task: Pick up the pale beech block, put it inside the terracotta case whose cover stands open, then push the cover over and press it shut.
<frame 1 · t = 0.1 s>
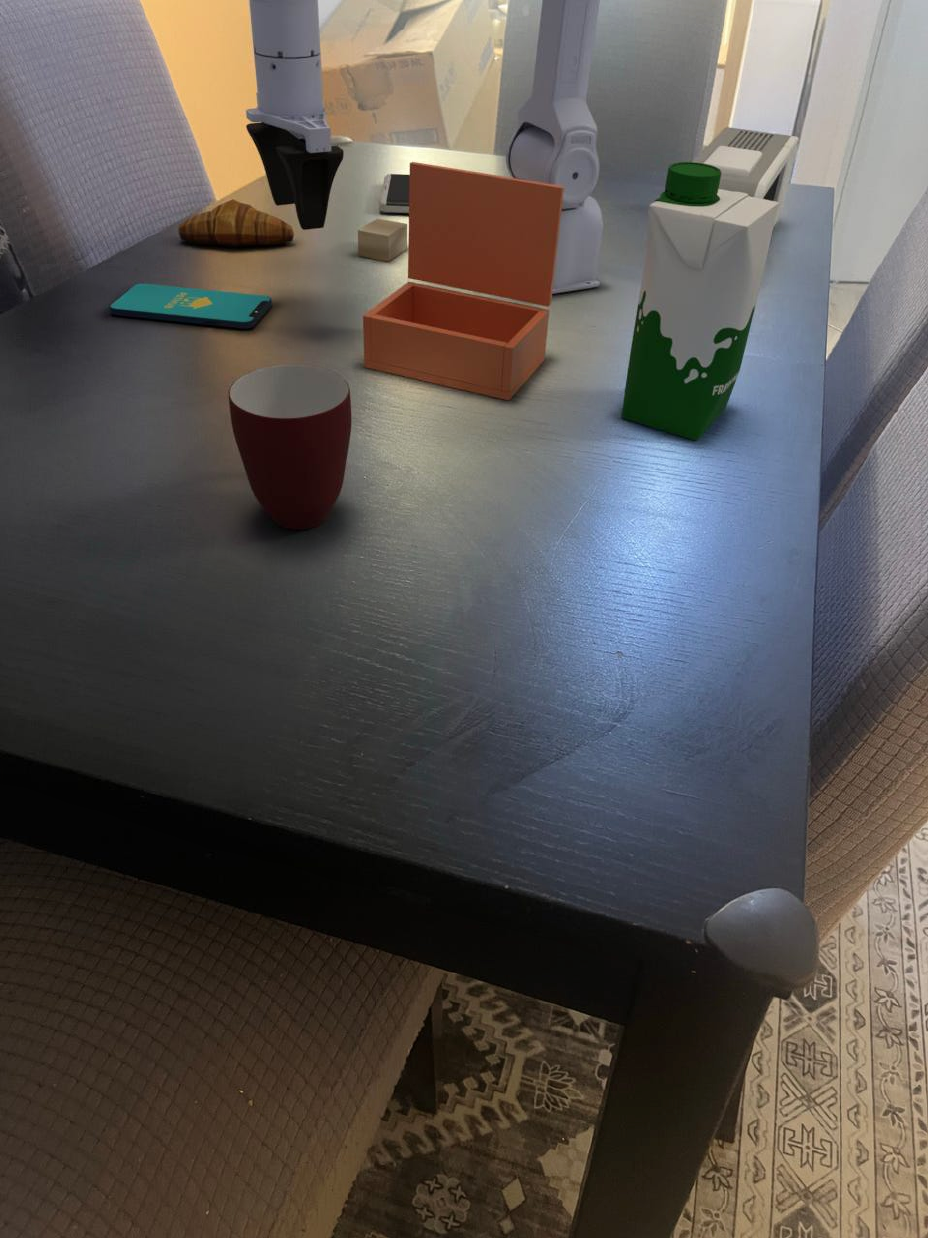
hand: (298, 215, 91), 10 cm above the table, tool pointing down, fingers open, 7 cm apart
alarm clock: (724, 249, 119), on the table
case: (455, 363, 91), on the table
mug: (301, 508, 71), on the table
tablet: (481, 205, 129), on the table
milk carton: (673, 416, 84), on the table
block: (383, 252, 113), on the table
smartphone: (193, 310, 98), on the table
case cover: (481, 234, 87), point 11 cm above the table, hinge at 92.0°
croissant: (237, 244, 114), on the table
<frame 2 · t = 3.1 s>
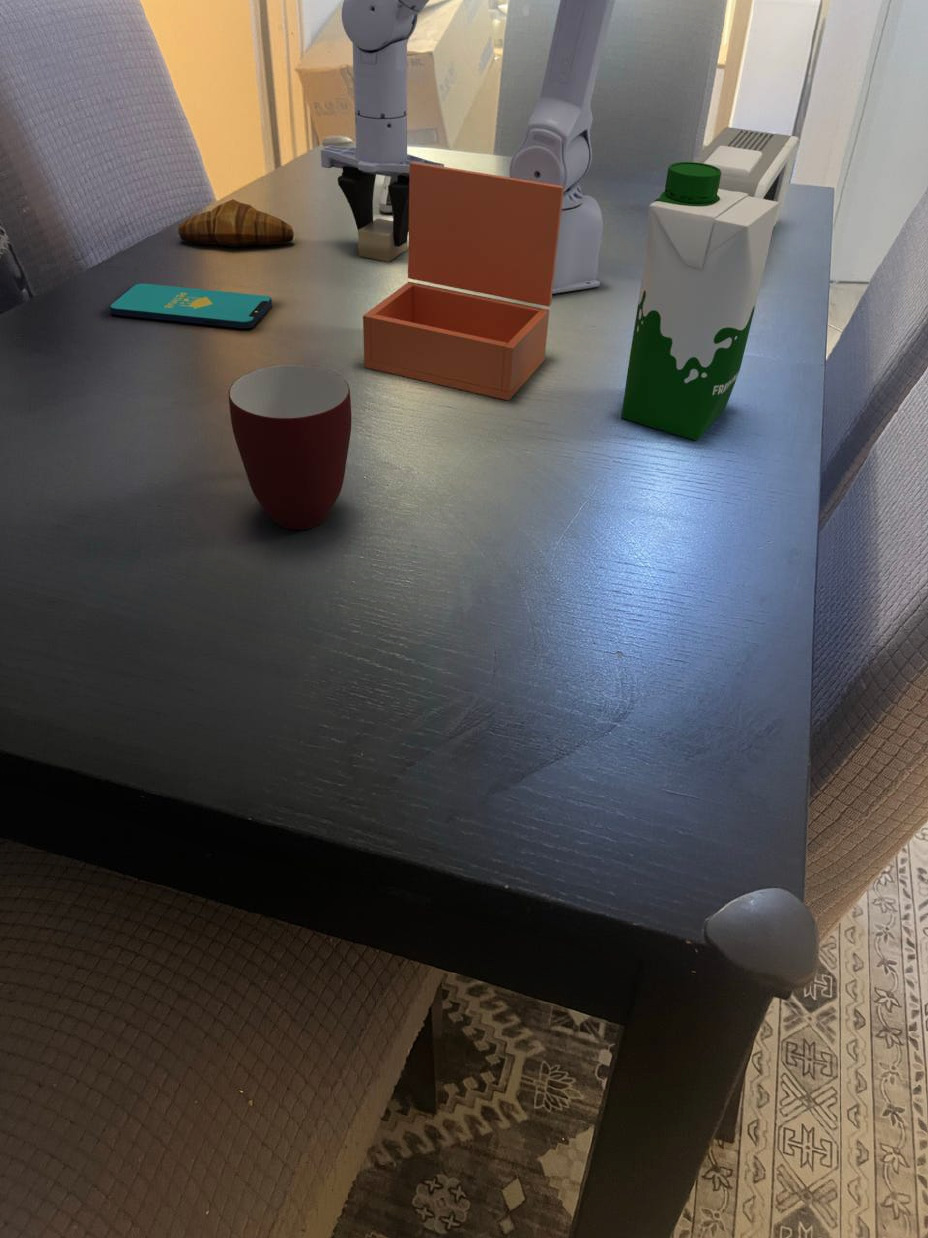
hand: (382, 240, 112), 1 cm above the table, tool pointing down, fingers closed on block, 4 cm apart
block: (383, 252, 113), on the table, touching gripper
everything else where it was.
when the fingers open (2 cm above the table, at t = 9.2 s): block stays where it is, resting on case.
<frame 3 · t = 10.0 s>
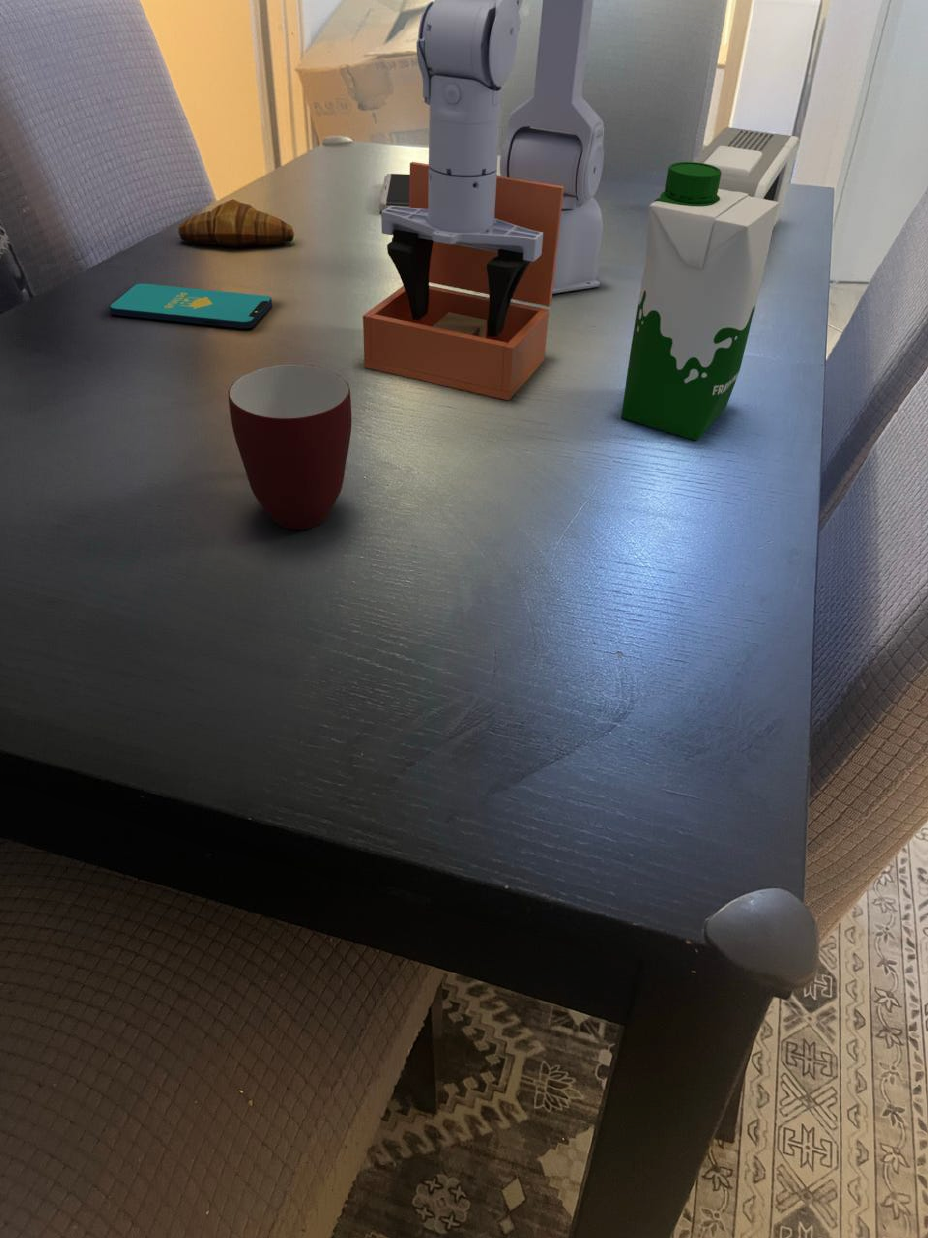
hand: (457, 324, 88), 4 cm above the table, tool pointing down, fingers open, 7 cm apart
block: (456, 355, 90), point 1 cm above the table, touching case
everything else where it was.
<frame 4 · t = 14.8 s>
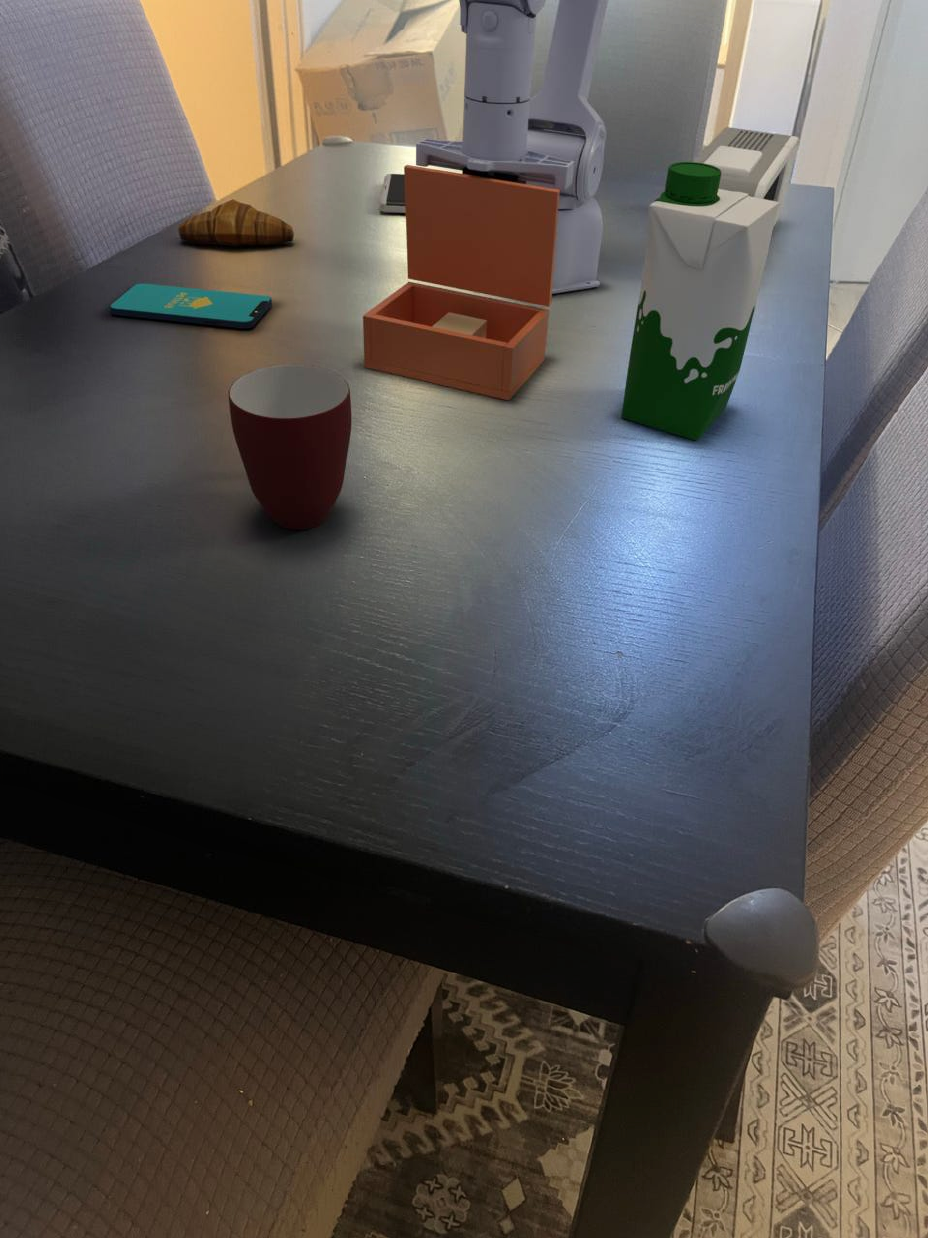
hand: (488, 256, 91), 8 cm above the table, tool pointing down, fingers closed, pressing on case cover
case cover: (478, 236, 87), point 11 cm above the table, hinge at 85.5°, touching gripper
everything else where it was.
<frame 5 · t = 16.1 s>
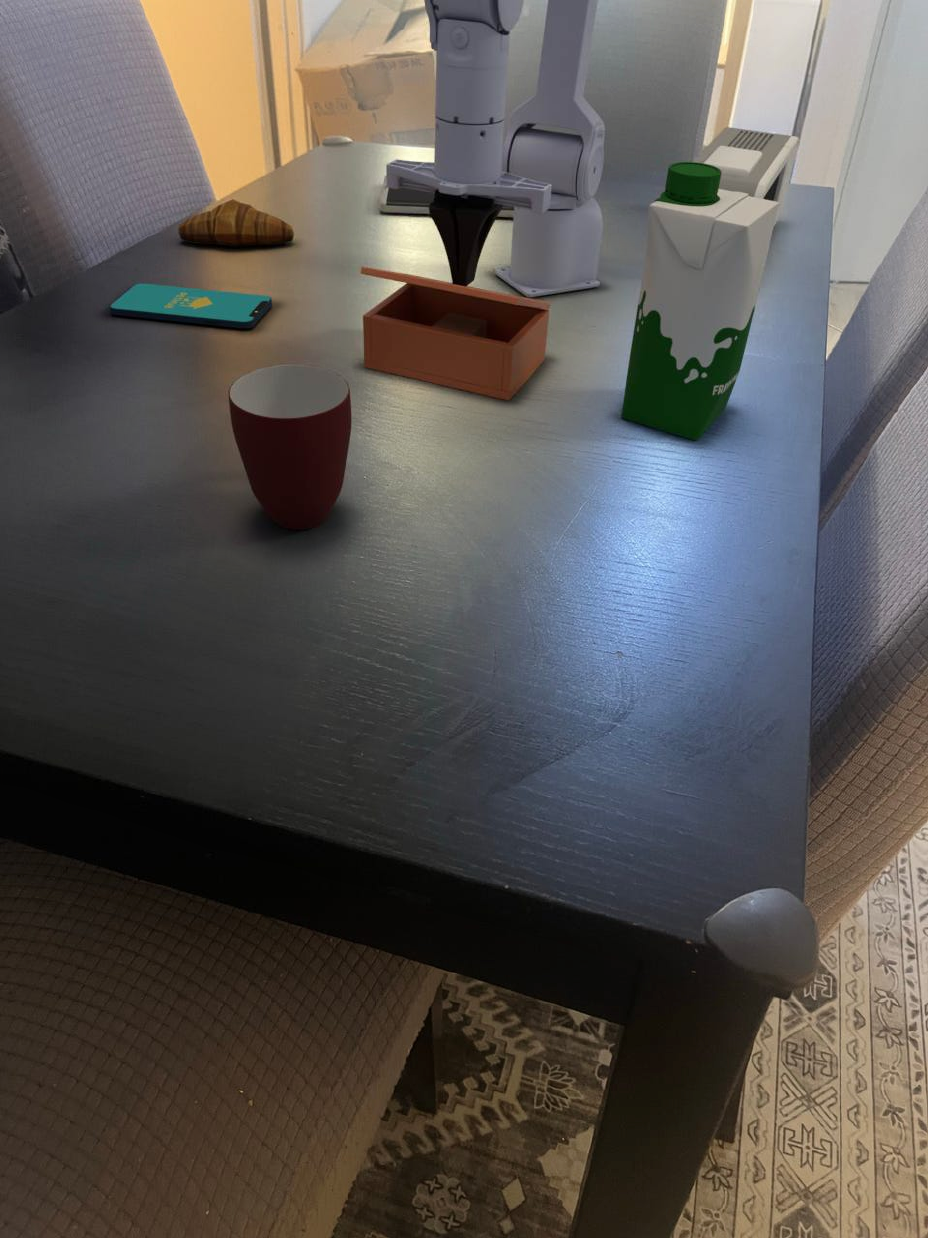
hand: (463, 281, 87), 7 cm above the table, tool pointing down, fingers closed, pressing on case cover
case cover: (458, 288, 86), point 7 cm above the table, hinge at 21.2°, touching gripper
everything else where it was.
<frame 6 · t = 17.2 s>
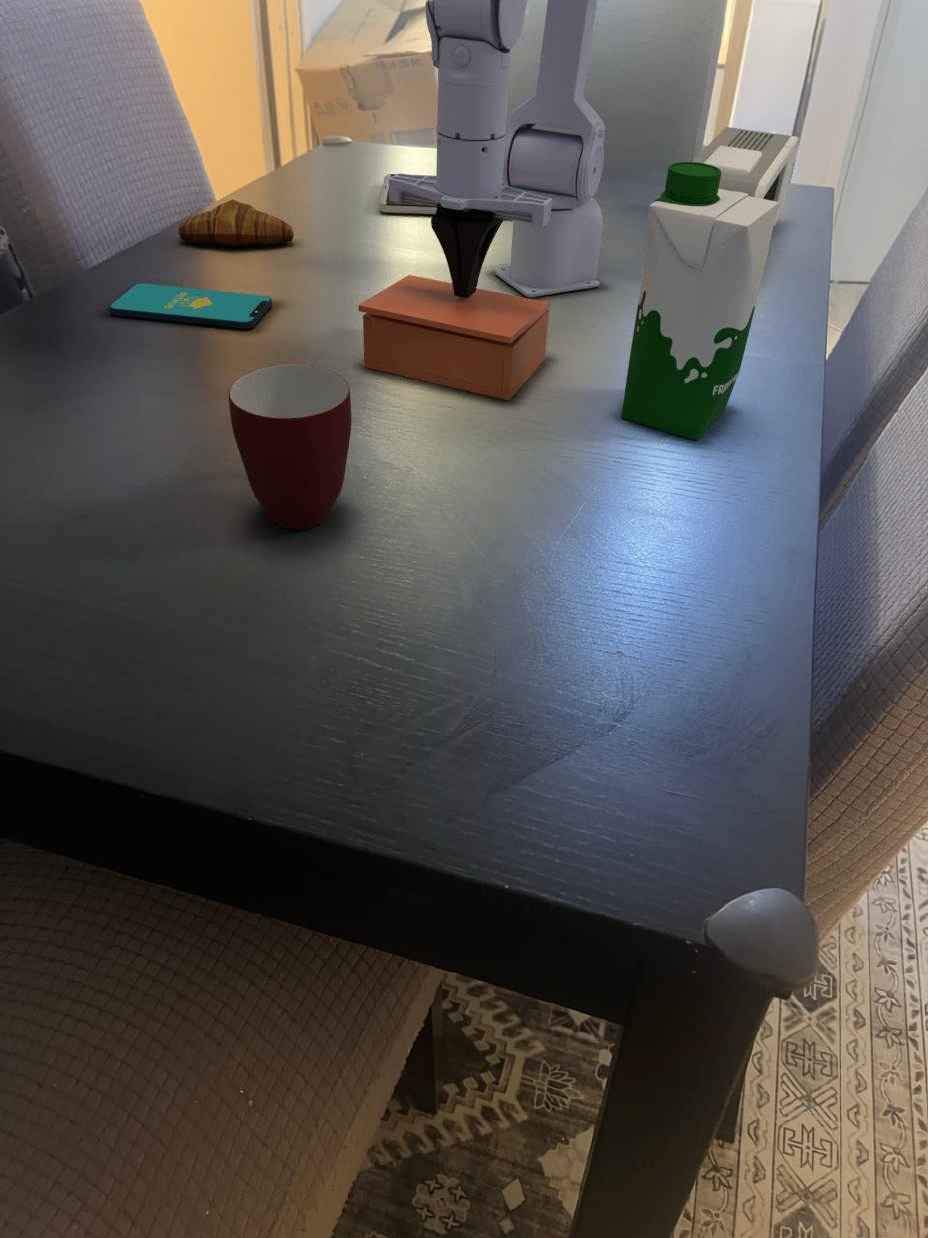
hand: (465, 293, 88), 6 cm above the table, tool pointing down, fingers closed
case cover: (456, 306, 87), point 6 cm above the table, hinge at 3.4°
everything else where it was.
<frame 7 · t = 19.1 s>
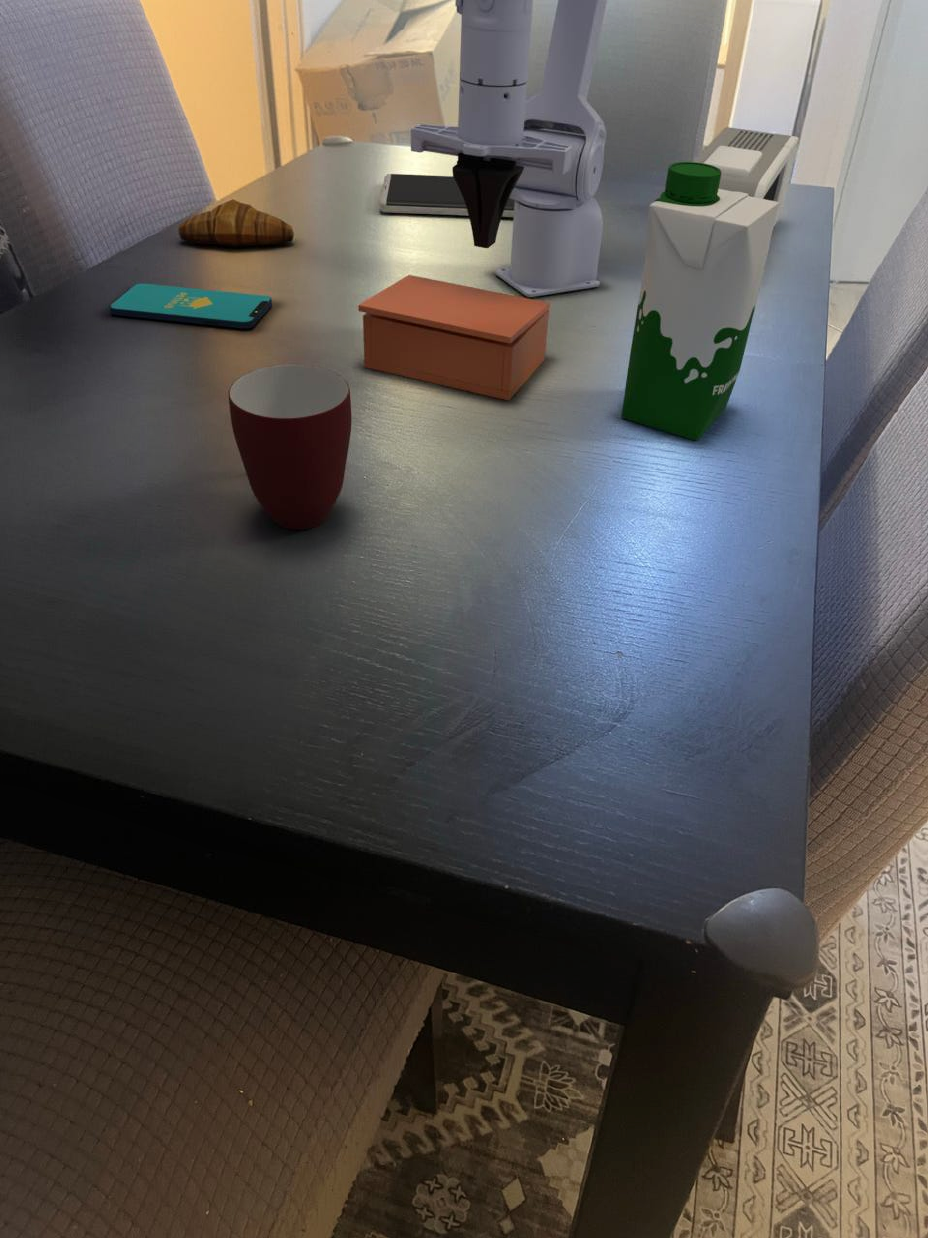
hand: (484, 244, 89), 9 cm above the table, tool pointing down, fingers closed
nothing on the table moved.
at the end: block inside the target area in the case (0.1 cm from its centre), point 0.8 cm above the case's base; case cover at +3° (first picture: +92°) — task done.
